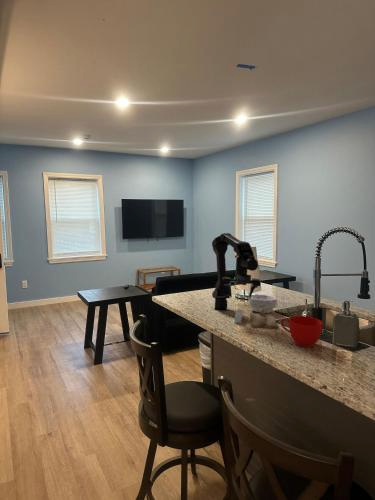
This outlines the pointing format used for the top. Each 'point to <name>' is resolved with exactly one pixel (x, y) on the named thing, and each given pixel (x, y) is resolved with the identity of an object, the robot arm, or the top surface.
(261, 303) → the paper bowls
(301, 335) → the ceramic cup
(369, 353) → the top surface
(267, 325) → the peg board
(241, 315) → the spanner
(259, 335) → the top surface
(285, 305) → the top surface
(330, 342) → the top surface
